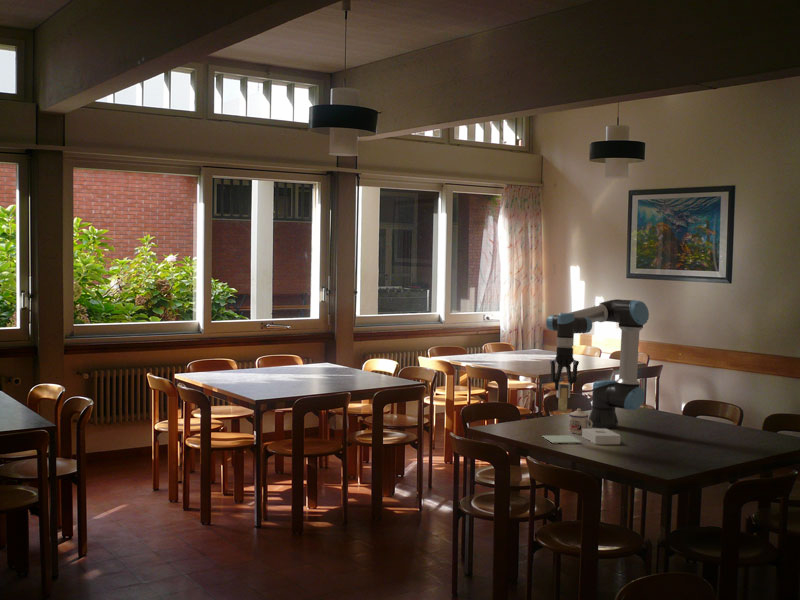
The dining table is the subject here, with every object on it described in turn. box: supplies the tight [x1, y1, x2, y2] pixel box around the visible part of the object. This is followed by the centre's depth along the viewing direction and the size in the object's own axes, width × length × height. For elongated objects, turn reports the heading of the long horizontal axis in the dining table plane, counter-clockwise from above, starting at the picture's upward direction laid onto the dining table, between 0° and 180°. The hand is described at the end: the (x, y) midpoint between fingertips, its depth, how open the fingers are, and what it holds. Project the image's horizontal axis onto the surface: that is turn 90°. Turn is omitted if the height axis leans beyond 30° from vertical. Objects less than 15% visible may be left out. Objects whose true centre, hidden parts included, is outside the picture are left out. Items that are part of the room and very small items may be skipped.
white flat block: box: [581, 428, 621, 445], centre depth 380 cm, size 16×12×4 cm
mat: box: [541, 434, 583, 444], centre depth 377 cm, size 14×14×1 cm
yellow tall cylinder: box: [557, 383, 569, 412], centre depth 376 cm, size 4×4×12 cm
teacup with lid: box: [568, 408, 593, 435], centre depth 396 cm, size 12×9×12 cm
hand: (563, 397), depth 376 cm, fingers closed on yellow tall cylinder, 4 cm apart
